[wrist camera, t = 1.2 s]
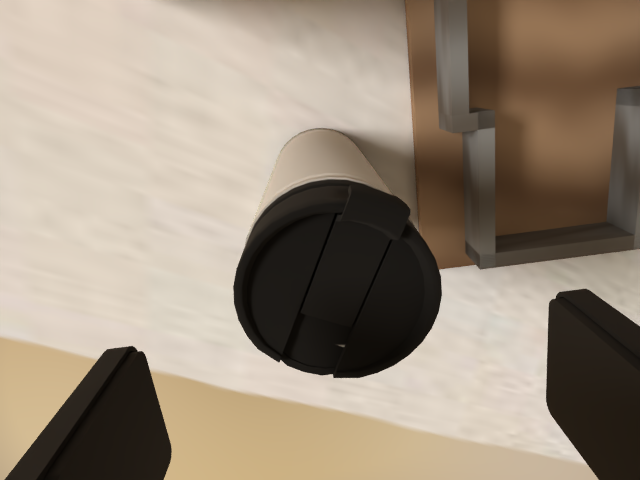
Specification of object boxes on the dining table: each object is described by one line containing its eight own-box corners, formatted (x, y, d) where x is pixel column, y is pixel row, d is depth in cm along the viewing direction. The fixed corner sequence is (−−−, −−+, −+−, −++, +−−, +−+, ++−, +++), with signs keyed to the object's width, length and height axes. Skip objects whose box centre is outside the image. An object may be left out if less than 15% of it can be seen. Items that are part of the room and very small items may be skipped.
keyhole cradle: (396, -139, 26) (411, -175, 22) (698, -182, 26) (764, -227, 22) (421, 265, 34) (435, 288, 31) (650, 236, 34) (693, 256, 30)
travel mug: (380, 140, 31) (491, 232, 12) (347, 228, 33) (398, 423, 14) (293, 109, 30) (269, 157, 12) (263, 201, 32) (202, 370, 14)
